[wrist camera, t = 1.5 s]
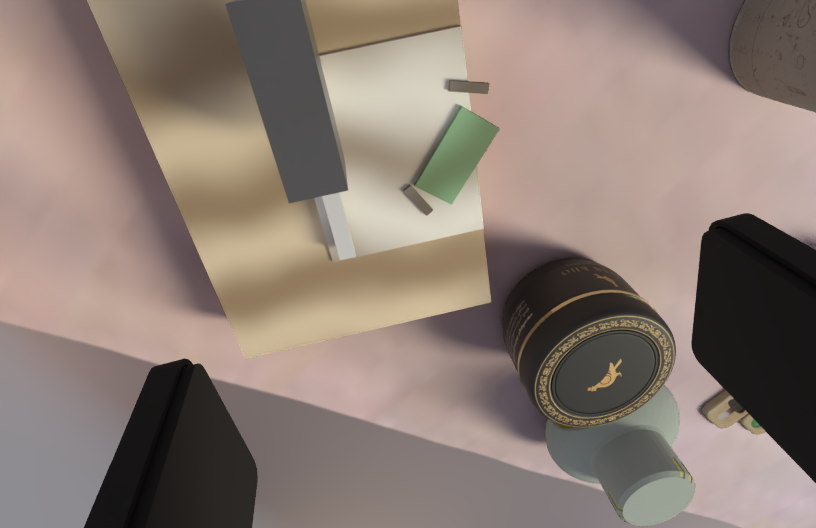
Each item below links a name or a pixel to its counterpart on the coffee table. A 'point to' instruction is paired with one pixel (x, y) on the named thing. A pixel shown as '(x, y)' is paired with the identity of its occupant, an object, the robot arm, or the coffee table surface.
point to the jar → (585, 343)
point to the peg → (294, 104)
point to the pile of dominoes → (729, 413)
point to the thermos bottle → (776, 50)
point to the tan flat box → (363, 152)
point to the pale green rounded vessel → (629, 460)
